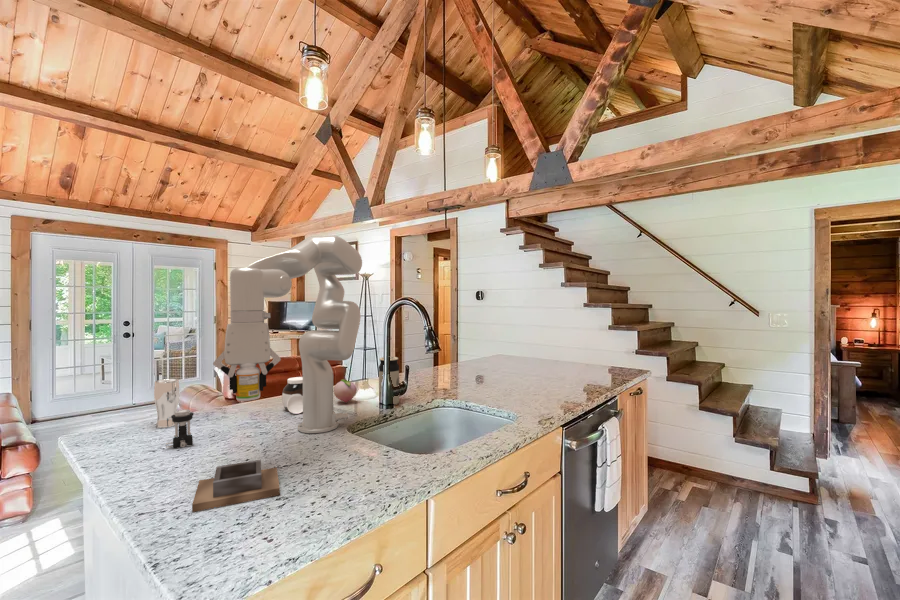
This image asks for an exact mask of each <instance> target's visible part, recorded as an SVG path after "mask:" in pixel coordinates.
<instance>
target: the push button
mask: <svg viewBox="0 0 900 600" xmlns="http://www.w3.org/2000/svg"><path fill="white" fill-rule="evenodd" d="M193 416H194V412H191V410H190V409H179V410H177V411H176V412H175V414H174V415H172V416H171V418H172V421H173V422H175V426H174V429H175V430H174V431H175V433H174V435H173V438H172V441H171V442H166V443H165V445H166V446H165V448H173V449H178V448H177V447H180V448H185V447H187V446H186V445H192V446H193V445H194V444H193V443H194V442H193V441H194V440H193V439H194V438H193V434H192V432H191V420H192V419H193V418H194V417H193ZM171 444H172V445H171ZM167 445H168V446H167Z"/></svg>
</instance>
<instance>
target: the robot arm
mask: <svg viewBox="0 0 900 600" xmlns="http://www.w3.org/2000/svg"><path fill="white" fill-rule="evenodd" d="M362 267H363V260H362V256H361V254H360V253H359V251H358V249H356V248H355V247H354V246H352V245H351V244H350V243H349V242H348V241H347V240H345V239H344V238H342V237H340V236H337V235H316V236H310V237H307V238H305V239H304V240H301V241H300V242H299V243H297V244H296V245H294V246H293V247H290V248H289V249H288V250H286V251H282V252H278V253H276V254H273V255H271V256H268V257H264V258H261V259H259V260H256V261H255V262H252V263H250V264H248V265H247V266H246V267H237V268H233V269H232V270H231V271H230V274H229V275H230V276H229V277H230V278H229V281H230V282H229V285H230V287H229V289H230V291H229V292H230V296H229V298H230V299H229V300H230V301H229V302H230V312H229V313H230V323H227V325H226V331H225V337H224V350H223V351H222V353H221V354H219V356H218V357H217V358H216V359H215V360H214V361H213V363H212V364H213V366H215V367H216V368H217V369H219V370H220V371H221V372H223V373H224V374H225V375H226V376H228V378H229V390H230V391H231V390H232V394H236V371H237V370H236V369H237V366H239V365H242V364H245V363H253V364H257V365H258V366H259V369H260V392H263V391H264V388H265V387H267V374H268V373H269V372H270V371H271V370H272V369H273V368H274V367H275V366H276V365H277V364H279V362H281V360H282V358H281V357H280V356H279V354H277V352H275V351H274V350H273V349H272V348H271V340H270V339H271V337H270V330H269V329H270V328H269V325H268V323H267V322H265V320H268V319H271V312H266V311H265V298H266V299H267V298H269V299H270V298H282V297H285V296H286V295H287V294H288V293H289V292H290V291H291V288H292V279H296V278H299V277H303V276H305V275H307V274H308V272H310V271H312V270H314V272H315V275H316V278H317V281H318V285H319V290H318V294H317V296H316V297H317V298H316V301H315V303H314V304H315V305H314V308H313V311H312V317H311V323H312V324H313V326H314V327H316V328H317V330H316V329H315V330H309V331H306V332H305V333H303V334H302V335H301V336H300V338H299V340H298V350H299V355H300V359H301V371H302V377H303V412H302V422H300V423H299V424H298V425H297V430H298V432H300V433H303V434H319V433H327V432H330V431H333V430H335V429H337V428H338V427H339V421H340V420H344V421H345V420H349V413H348V412H346V413H343V412H339V413H336V411H335V410H334V370H333V368H332V366H331V364H330V362H329V361H347V360H348V359H350V358H351V357H352V356H353V352H354V350H355V346H356V342H357V337H358V333H359V329H360V324H361V318H362V317H361V310H360V307H359V305H358V304H357V303H356V302H354V301H350V300H344V298H345V288H344V286H343V284H342V283H341V281H340V280H339V279H338V277H337V276H338V275H339V276H346V275H347V276H351V275H356V274H358V273H360V271H361V269H362ZM318 329H319V330H318ZM320 329H321V330H320ZM271 358H273V359H272V361H270V360H271ZM223 361H224V363H225V364H227V365H225V364H224V363H223ZM269 361H270V362H269ZM267 362H269V363H268V364H267V365H266V364H265V363H267ZM228 365H230V367H228Z"/></svg>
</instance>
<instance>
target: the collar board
mask: <svg viewBox="0 0 900 600" xmlns="http://www.w3.org/2000/svg"><path fill="white" fill-rule="evenodd" d="M279 481H280V480H279V474H278V467H270V468H265V469H262V460H261V459H258V460H257V459H256V460H250V461H244V462H238V463H237V462H236V463H232V464H231V463H230V464H226V465H219V466H216V469H215V473H214V477H211V478H206V479H200V480H199V481H198V484H197V487H196V490H195V493H194V497H193V500H192V504H191V509H192V510H191V512H192V513H195V512H199V511H200V512H202V511H205V510H204V509H206V510H210V509H209V508H211V509H214V507H216V508H220V506H221V507H226V506H231V505H235V504H236V505H237V504H241V503H245V502H246V503H247V502H252V501H257V500H261V499H267V498H273V497H277V496H280V491H281V490H280V489H281V487H280V482H279Z"/></svg>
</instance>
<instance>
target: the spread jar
mask: <svg viewBox="0 0 900 600" xmlns="http://www.w3.org/2000/svg"><path fill="white" fill-rule="evenodd" d="M286 381H287V384H286V385H285V386H284V387H283V390H282V394H281V395H282V396H281V397H282V406H283V408H284V409H285V410H286V411H288V412H290V413H291V414H293V415H298V414H301V413H303V376H296V377H295V376H294V377H289V378H287V380H286Z"/></svg>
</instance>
